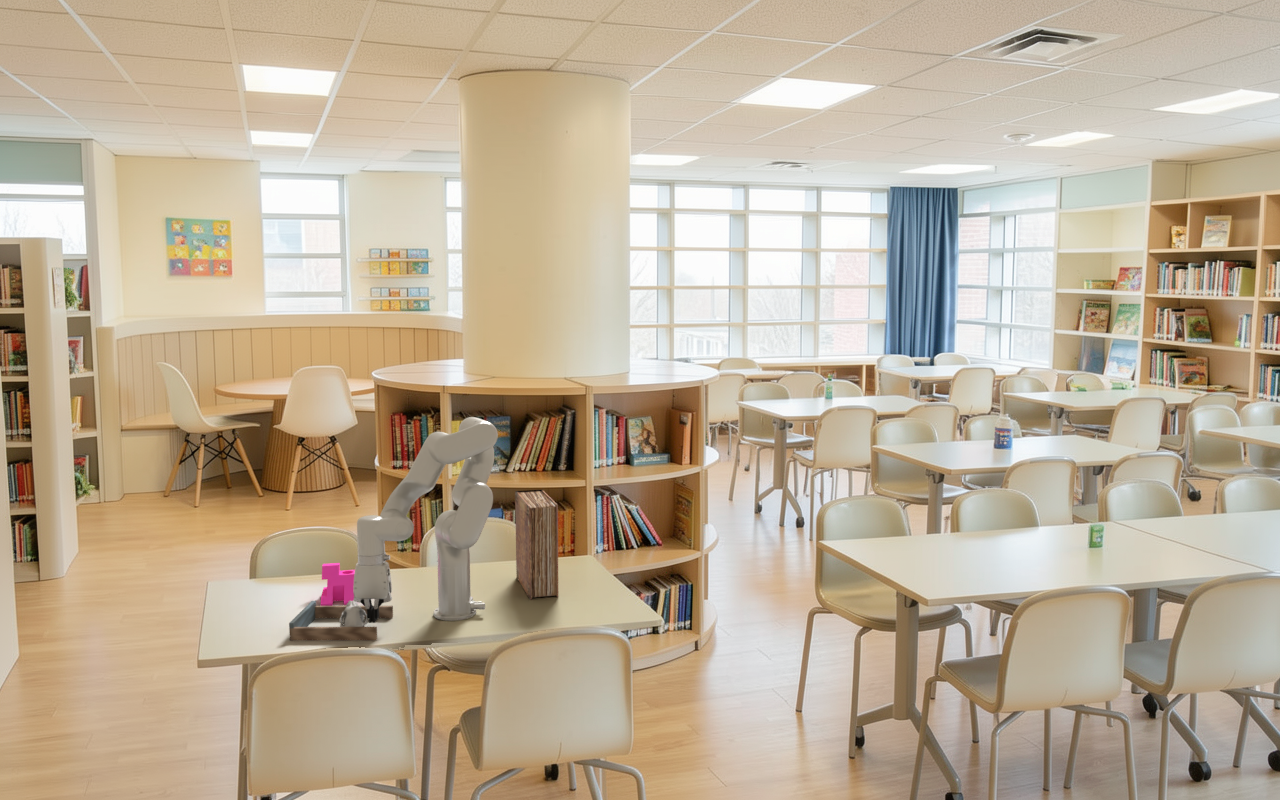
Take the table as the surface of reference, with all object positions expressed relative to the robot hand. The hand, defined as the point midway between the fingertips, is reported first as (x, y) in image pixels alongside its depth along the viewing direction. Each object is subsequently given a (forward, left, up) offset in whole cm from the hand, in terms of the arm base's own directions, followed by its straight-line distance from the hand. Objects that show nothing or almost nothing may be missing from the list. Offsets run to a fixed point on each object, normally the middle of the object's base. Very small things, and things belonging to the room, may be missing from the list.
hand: (373, 621), depth 280 cm
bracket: (+18, -27, -3) cm, 32 cm away
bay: (+9, 0, -2) cm, 9 cm away
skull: (+5, 0, -2) cm, 6 cm away
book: (-43, -39, -2) cm, 58 cm away
